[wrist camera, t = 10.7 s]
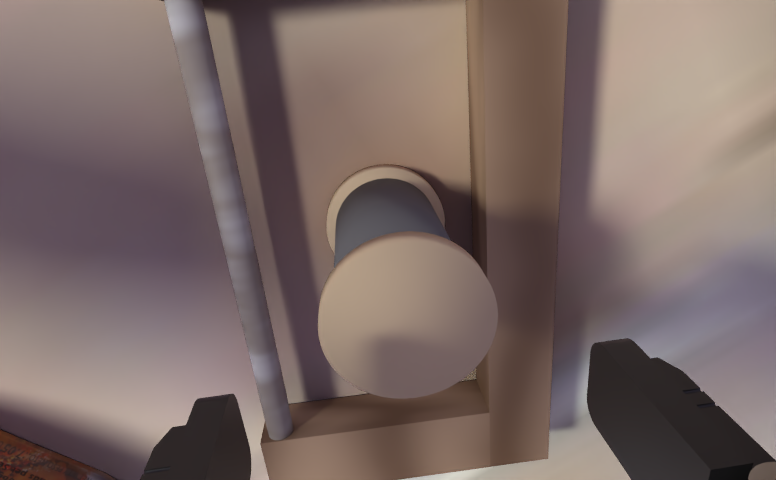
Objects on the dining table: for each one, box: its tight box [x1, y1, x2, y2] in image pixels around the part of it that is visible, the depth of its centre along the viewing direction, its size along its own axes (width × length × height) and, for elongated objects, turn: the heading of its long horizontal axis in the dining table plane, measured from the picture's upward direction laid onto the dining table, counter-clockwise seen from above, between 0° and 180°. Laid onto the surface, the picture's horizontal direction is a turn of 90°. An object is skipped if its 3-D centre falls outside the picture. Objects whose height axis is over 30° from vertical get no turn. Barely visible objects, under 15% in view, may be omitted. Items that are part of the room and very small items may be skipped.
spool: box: [318, 164, 498, 399], centre depth 18 cm, size 5×5×9 cm
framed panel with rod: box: [161, 0, 568, 480], centre depth 21 cm, size 14×26×2 cm, turn 5°
